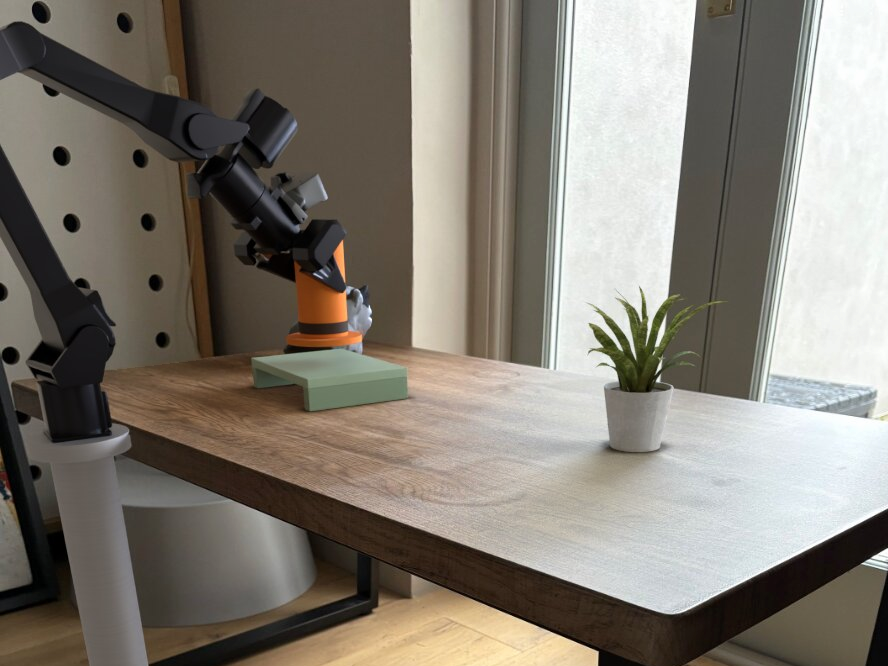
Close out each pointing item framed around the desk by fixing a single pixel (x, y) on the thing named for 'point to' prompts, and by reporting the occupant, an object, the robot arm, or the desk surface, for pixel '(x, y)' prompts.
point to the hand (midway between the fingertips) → (329, 288)
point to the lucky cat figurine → (356, 321)
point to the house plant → (639, 376)
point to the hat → (322, 312)
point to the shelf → (333, 377)
